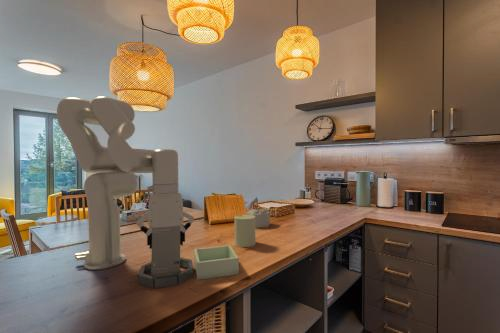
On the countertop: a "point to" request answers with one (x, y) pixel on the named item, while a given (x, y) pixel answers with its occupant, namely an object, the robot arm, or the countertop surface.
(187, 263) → the socket ring
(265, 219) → the lumpy-topped squat cylinder
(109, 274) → the countertop surface
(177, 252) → the skincare box
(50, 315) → the countertop surface
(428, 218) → the countertop surface
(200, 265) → the bin
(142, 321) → the countertop surface
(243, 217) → the can
